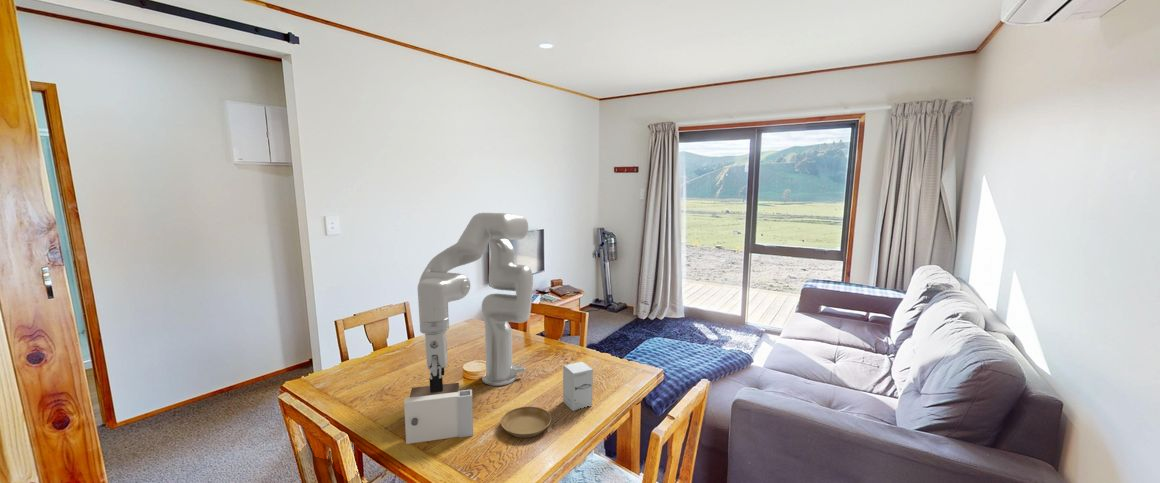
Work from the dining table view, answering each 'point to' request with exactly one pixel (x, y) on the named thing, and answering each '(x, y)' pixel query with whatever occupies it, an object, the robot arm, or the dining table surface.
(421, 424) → the door
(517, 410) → the plant saucer
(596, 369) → the dining table surface
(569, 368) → the supplement box
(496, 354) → the robot arm
